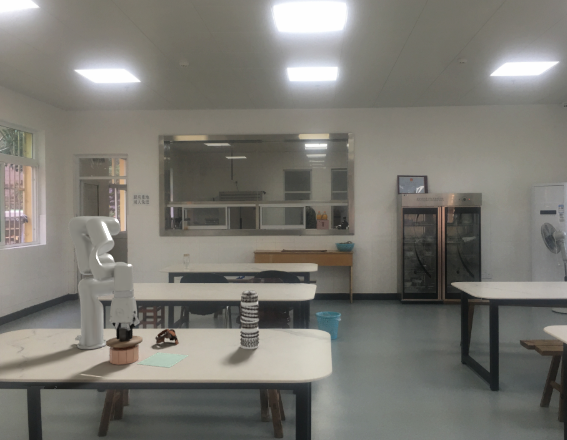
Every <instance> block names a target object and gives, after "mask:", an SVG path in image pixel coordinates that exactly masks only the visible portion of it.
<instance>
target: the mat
mask: <svg viewBox="0 0 567 440" xmlns="http://www.w3.org/2000/svg"><path fill="white" fill-rule="evenodd" d="M187 357H189V354H187V355H186V354H180V353H168V352H159V351H158V352H156V353H154V354H152V355H150V356H148V357H147V358H145V359H143V360H141V361H139V362H137V363H136V365H140V366H141V365H142V366H152V367H160V368H172V367H173V366H175V365H176V364H178V363H179V362H181V361H183V360H184V359H186V358H187Z"/></svg>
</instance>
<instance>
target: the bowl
mask: <svg viewBox="0 0 567 440" xmlns="http://www.w3.org/2000/svg"><path fill="white" fill-rule="evenodd" d="M139 344H140V343H139ZM139 344H137V345H133V346H129V347H109V363H110V364H112V365H119V366H120V365H121V366H122V365H129V364H132V363H135V362H137V361H139V359H140V349H139V348H140V345H139Z"/></svg>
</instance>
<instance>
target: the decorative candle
mask: <svg viewBox="0 0 567 440" xmlns="http://www.w3.org/2000/svg"><path fill="white" fill-rule="evenodd" d="M258 295H259V293H257V292H256V291H255V290H244V291H243V292H242V293H241V294H240V297H241V299H240V304H239V305H238V306H239V307H240V308H239V315H240V317H239V319H240V322H241V325H240V326H241V327H240V338H239V340H240V348H241V349H244V350H255V349H258V348H259V347H260V345H259V343H260V337H259V336H260V334H259V333H260V331H259V321H260V312H259V310H260V304H259V300H258V299H259V297H258Z"/></svg>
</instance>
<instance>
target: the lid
mask: <svg viewBox="0 0 567 440" xmlns="http://www.w3.org/2000/svg"><path fill="white" fill-rule="evenodd" d="M126 330H127V326H122V327H121V328H119V339H116V337H113V338H110V339H108V340H106V345H105V346H106V347H109V348H110V347H129V346H133V345H137V344H141V343H142V342H143V337H142V336H139V335H133V337H132V339H130V340H126Z"/></svg>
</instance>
